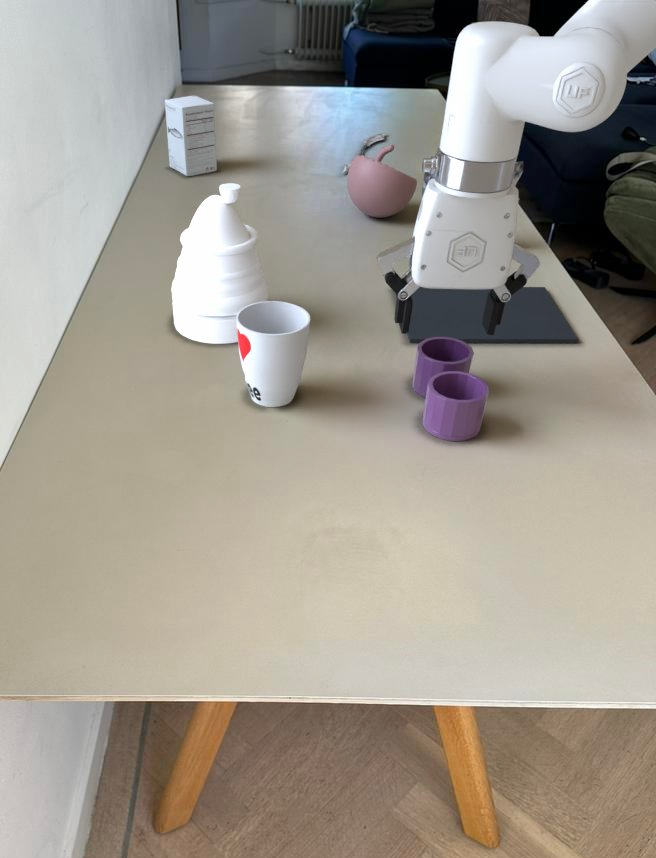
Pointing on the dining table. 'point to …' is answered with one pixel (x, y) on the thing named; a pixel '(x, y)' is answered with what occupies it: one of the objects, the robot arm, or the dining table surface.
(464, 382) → the purple faceted cup
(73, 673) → the dining table surface
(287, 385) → the cup
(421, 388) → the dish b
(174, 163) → the white packaging box
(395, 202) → the mortar and pestle
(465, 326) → the mat
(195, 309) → the honey pot
